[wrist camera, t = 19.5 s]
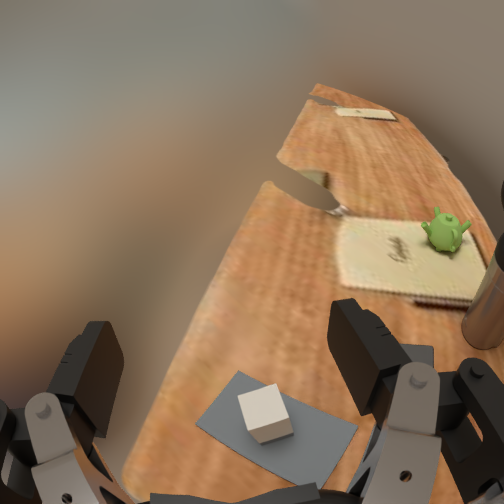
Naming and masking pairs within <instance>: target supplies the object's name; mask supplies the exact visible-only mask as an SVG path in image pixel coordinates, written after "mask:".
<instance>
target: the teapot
mask: <svg viewBox="0 0 504 504" xmlns="http://www.w3.org/2000/svg"><path fill="white" fill-rule="evenodd" d="M434 212H435V219H434V220H433V221H432V222H431V223H430V225H429V226H428V224H427V223H426V222H422V224H421V226H422V228H423V229H424V230H425V232H426V233H427V235H428V238H429V240H430V241H431V243H432V244H433V245H434V246H435V247H436V251H438V252H441V251H442V250H446V251H451V252H455V249H456V248H458V247H459V246H460V244H461V242H462V234H463V233H464V232H465V231H466V230H467V229H468V228H469V227H470V226H471V225H472V224H471V223H470V221H469V220H467V221H466V222H465V223H464V224H463V225H462V226H460V223H459V221H458V219H457V218H456V217H455V216H453V215H452V214H449V213H442V214H440V209H439V207H434Z"/></svg>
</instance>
